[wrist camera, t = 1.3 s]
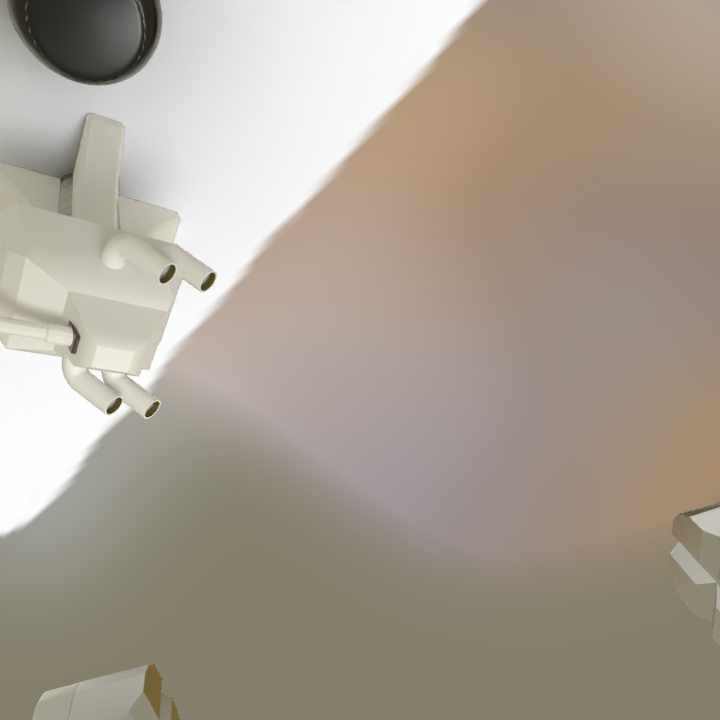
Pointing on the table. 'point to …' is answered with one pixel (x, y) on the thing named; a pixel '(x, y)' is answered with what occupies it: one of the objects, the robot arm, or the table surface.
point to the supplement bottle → (89, 36)
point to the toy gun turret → (90, 271)
